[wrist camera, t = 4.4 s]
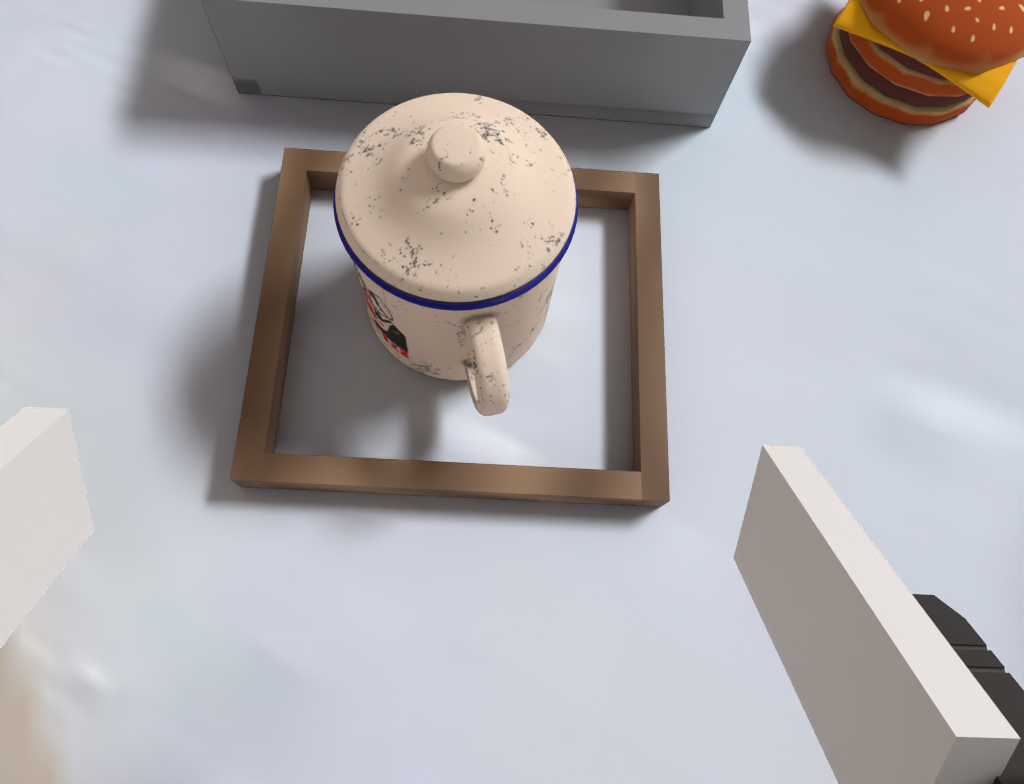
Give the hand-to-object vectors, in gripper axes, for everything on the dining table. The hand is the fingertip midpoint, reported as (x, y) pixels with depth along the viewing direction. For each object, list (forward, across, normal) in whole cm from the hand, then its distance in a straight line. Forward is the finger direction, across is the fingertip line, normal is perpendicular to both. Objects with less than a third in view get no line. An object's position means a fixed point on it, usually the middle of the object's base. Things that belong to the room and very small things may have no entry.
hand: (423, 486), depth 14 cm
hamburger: (+34, -24, -8) cm, 42 cm away
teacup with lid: (+21, 0, +5) cm, 21 cm away
